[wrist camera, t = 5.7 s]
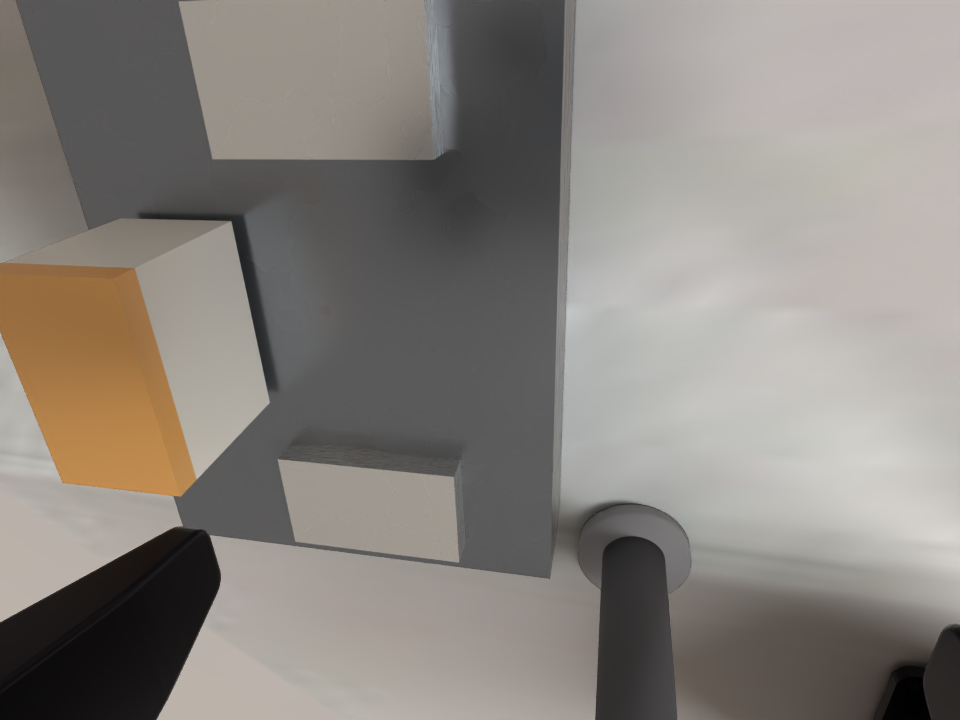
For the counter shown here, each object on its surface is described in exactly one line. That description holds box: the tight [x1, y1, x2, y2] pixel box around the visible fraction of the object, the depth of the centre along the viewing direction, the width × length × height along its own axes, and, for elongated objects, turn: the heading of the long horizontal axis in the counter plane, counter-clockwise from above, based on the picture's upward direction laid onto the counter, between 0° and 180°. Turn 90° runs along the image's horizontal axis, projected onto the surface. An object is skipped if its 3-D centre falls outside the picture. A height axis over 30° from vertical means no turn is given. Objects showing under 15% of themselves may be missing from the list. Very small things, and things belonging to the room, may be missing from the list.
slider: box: [0, 218, 270, 497], centre depth 15 cm, size 5×3×4 cm, turn 2°
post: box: [578, 504, 691, 720], centre depth 17 cm, size 4×4×9 cm
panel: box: [16, 0, 576, 579], centre depth 17 cm, size 16×12×4 cm
